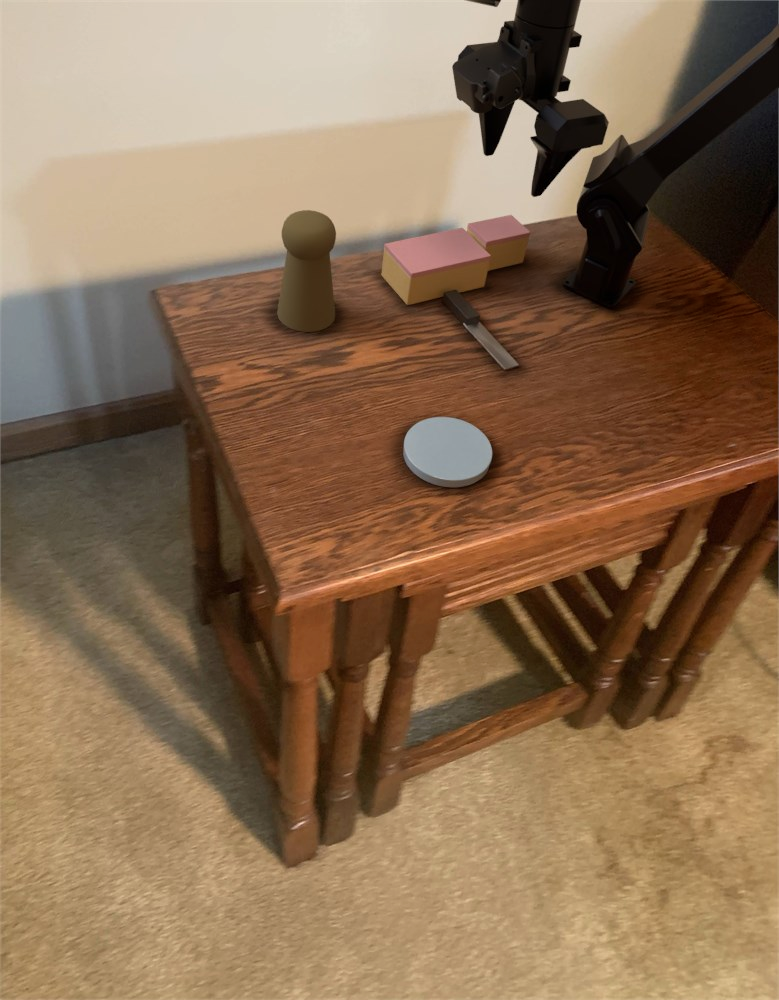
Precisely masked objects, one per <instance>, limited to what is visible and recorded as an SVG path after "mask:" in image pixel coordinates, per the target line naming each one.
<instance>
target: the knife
mask: <svg viewBox="0 0 779 1000" xmlns="http://www.w3.org/2000/svg"><path fill="white" fill-rule="evenodd" d="M442 303H443V304H444V306H446V308H447V309H448V310H449V311H450V312H451V313H452V314H453V315H454V316H455V318H457V320H458V321H459V322H460V323H461V324H462V326H463V327H464V328H465V330H466V331H467V332H468V333H469V334H470V335H471V336H472V337H473V339H475V341H476V342H477V343H478V344H479V345H480V346H481V347H482V349H483V350H485V352H486V353H487V354H488V355H489V356H490V357H491V359H492V360H494V362H495V363H496V364H497V365H498V366H499V367H500V369H502V371H503V372H506V371H509V370H513V369H516V368H519V366H520V364H519V363H518V361H516V359H515V358H513V356H511V354H510V353H509V352H508V351H507V350H506V349H505V347H504V346H503V345H502V344H501V343H500V342H499V341H498V340H497V339H496V338H495V336H493V335H492V333H490V332H489V330H488V329H487V328H486V327H485V326H484V325H483V324H482V323H481V322H480V319H481V314H479V312H478V311H477V310H476V309H475V308H474V307H473V306H472V305H471V304H470V303H469V302H468V301H467V299H466V298H465V297H464V296H463V295H462V294H461V292H460V293H459V292H458V291H457V290H451V291H447V292H444V294H443V297H442Z"/></svg>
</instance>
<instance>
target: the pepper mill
mask: <svg viewBox="0 0 779 1000" xmlns="http://www.w3.org/2000/svg"><path fill="white" fill-rule="evenodd" d="M336 240H337V231H336V227H335V224H334V222H333V220H332V219H331V218H330V217H329V216H328V215H326V214H324V213H323V212H320V211H316V210H311V209H305V210H304V209H303V210H298V211H295V212H293V213H290V214H289V215H288V216H287V217H286V219H285V220H284V221H283V225H282V227H281V241H282V244H283V246H284V248H285V250H286V256H285V260H284V268H283V274H282V279H281V285H280V294H279V297H278V298H279V299H278V305H277V311H276V314H277V318H278V321H280V323H281V324H282V325H283V326H285V327H287V328H288V329H291V330H294V331H296V332H304V333H313V332H319V331H322V330H323V331H324V330H326V329H327V328H328V327H330V326H331V325H332V324H333V323H334V322H335V319H336V308H335V296H334V287H333V286H334V285H333V276H332V265H331V263H332V262H331V255H330V253H331V251H332V250H333V249H334V248H335V244H336Z"/></svg>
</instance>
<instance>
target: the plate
mask: <svg viewBox="0 0 779 1000" xmlns="http://www.w3.org/2000/svg"><path fill="white" fill-rule="evenodd" d="M402 457H403V459H404V462H405V464H406V466H407V467H408V469H409V470H410V471H411V472H412V473H413V474H414V475H416V476H417V477H418V478H419V479H421V480H423V481H424V482H427V483H429V484H432V485H435V486H438V487H443V488H463V487H467V486H471V485H473V484H475V483H477V482H478V481H480V480H481V479H483V478H484V477H485V476H486V475H487V473H488V471H489V470H490V467H491V464H492V459H493V447H492V445H491V442H490V440H489V438H488V437H487V436H486V434H485V433H484V432H483V431H482V430H481V429H479V428H478V427H477V426H475V425H473V424H472V423H469V422H467V421H465V420H462V419H460V418H456V417H449V416H433V417H428V418H426V419H422V420H420V421H418V422H417V423H415V424H414V425H412V426H411V427H410V428H409V430H408V431H407V433H406V435H405V436H404V441H403V446H402Z"/></svg>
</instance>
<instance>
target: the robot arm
mask: <svg viewBox="0 0 779 1000" xmlns="http://www.w3.org/2000/svg"><path fill="white" fill-rule="evenodd" d="M465 1H466V2H470V3H476V4H480V5H484V6H489V7H493V8H498V6H499V5H500V3H501V2H502V0H465ZM581 1H582V0H517V2H516V8H515V13H514V18H513V20H505V21H503V26H501V27H500V30H499V35H498V38H497V41H492V42H491V41H490V42H483V43H482V42H481V43H476V44H475V43H473V44H467V45H465V47H464V48H463V49H462V50H461V51H460V53H459V54H458V56H457V60H456V61H455V62H454V63H453V64H452V66H451V68H452V75H453V82H454V88H455V94H456V98H457V100H458V101H460V102H461V101H462V102H463V103H464V104H465V105H467V106H468V107H469V109H470V110H471V111H472V112H473V113H476V114H478V118H479V119H478V120H479V125H480V126H479V127H480V128H479V129H480V135H481V136H480V137H481V143H482V152H483V155H484V156H485V157H488V156H489V157H490V156H493V155H494V154H495V152H496V150H497V148H498V146H499V144H500V141H501V139H502V137H503V134H504V131H505V129H506V126H507V123H508V121H509V118H510V116H511V113H512V111H513V108H514V105H515V104H516V101H518V100H519V101H522V102H523V103H525V104H526V105H527V106H529V108H531V109H532V110H533V111H535V112H536V113H537V114H536V116H535V120H534V126H533V129H534V131H535V135H532V136H530V138H529V139H530V141H531V142H532V144H533V145H534V147H535V149H536V150H537V153H536V158H535V164H534V170H533V175H532V180H531V192H530V195H531V196H532V197H533V198H537V197H540V196H542V195H543V194H544V192H545V191H546V190H547V189H548V187H549V186H550V185H551V184H552V182H554V180H555V179H556V178H557V176H559V174H560V173H561V172H562V170H563V169H565V167H566V166H567V165H568V164H569V162H570V161H571V160H572V159H574V157H576V155H577V154H578V153H579V152H581V150H583V149H589V148H592V147H596V146H603V144H604V140H605V137H606V134H607V131H608V127H609V123H610V122H609V120H608V118H607V116H606V114H605V113H604V112H603V111H601V110H600V109H598V108H596V107H595V106H593V105H592V104H591V103H590V102H588V101H587V100H585V99H584V98H580V99H579V98H578V99H573V100H567V101H561V100H560V99H558V98H556V97H557V96H558V93H562V92H563V93H564V92H569V89H570V85H571V81H572V80H571V79H569V78H568V77H567V76H565V74H564V73H565V68H566V65H567V60H568V57H569V56H568V55H569V52H570V49H574V48H579V47H580V45H581V42H582V39H583V35H582V34H581V33H579V32H577V31H576V30H575V27H576V22H577V19H578V14H579V10H580V7H581V6H580V5H581ZM777 90H779V23H777V24H776V25H775V27H774V28H773V30H772V31H771V32H770V33H768V34H767V35H766V36H765V37H763V38H762V39H761V41H759V42H757V44H755V46H753V47H752V48H751V49H750V50H748V51H747V52H746V53H745V54H743V55H742V56H741V57H740V58H739V59H738V60H736V61H735V62H734V63H733V64H732V65H731V66H729V67H728V68H727V69H726V70H725V71H724V72H722V73H721V74H720V75H719V76H718V77H717V78H715V79H714V80H712V82H711V83H709V84H708V85H707V86H706V87H705V88H704V89H702V90H701V91H700V92H699V93H697V95H696V96H694V97H693V98H692V99H690V101H688V102H687V103H685V105H683V107H681V108H680V109H679V110H678V111H676V112H675V113H674V114H673V115H671V116H670V117H669V119H667V120H666V121H665V122H664V123H662V124H661V125H660V126H658V128H657V129H656V130H654V131H653V132H652V133H651V134H649V135H648V136H647V137H645V138H643V139H641V140H638V141H635V142H632V143H629V142H628V140H627V139H626V138H625V136H624V135H623V134H619V136H618V137H617V138H616V139H615V140H614V142H613V143H612V144H611V145H610V146H609V147H608V148H607V150H605V151H604V152H602V153H601V154H598V155H596V156H593V157H592V159H591V162H590V165H589V168H588V171H587V174H586V177H585V180H584V183H583V186H582V188H581V191H580V194H579V197H578V199H577V204H576V216H577V220H578V222H579V224H580V225H581V226H582V228H583V229H585V230H586V240H585V242H584V246H583V249H582V252H581V256H580V258H579V259H580V260H579V263H578V264H577V265H578V266H577V268H576V269H575V270H574V271H572V272H571V273H570V275H568V276H567V277H566V278H565V279H564V280H562V284H561V285H562V287H563V288H565V289H567V290H569V291H571V292H573V293H576V294H578V295H580V296H582V297H584V298H586V299H588V300H590V301H593V302H595V303H597V304H599V305H601V306H603V307H606V308H608V309H614V308H615V307H616V306H617V305H618V304H619V303H620V302H621V301H622V300H623V299H624V298H625V297H626V296H627V295H628V294H629V293H630V291H631V290H632V289H634V287H635V285H636V281H635V280H633V279H632V278H630V277H629V276H630V274H631V271H632V268H633V266H634V263H635V260H636V258H637V256H638V255H639V254H640V253H641V251H642V249H643V246H644V240H645V236H646V232H647V228H648V222H649V219H650V214H651V209H650V207H649V205H648V203H649V202H650V201H651V199H652V197H653V196H654V195H655V194H656V192H657V191H658V189H659V188H660V187H661V185H662V184H663V182H664V181H665V180H666V179H667V178H668V177H669V176H670V175H671V174H673V173H674V172H675V171H676V170H678V169H679V168H680V167H681V166H683V165H684V164H685V163H686V162H688V161H689V160H691V159H692V158H693V157H694V156H696V155H697V154H698V153H699V152H700V151H702V150H703V149H704V148H705V147H707V146H708V145H709V144H711V143H712V142H713V141H714V140H716V139H717V138H718V137H720V136H721V135H722V134H723V133H724V132H726V131H727V130H728V129H730V128H731V127H732V126H734V125H735V124H737V122H738V121H740V119H742V118H743V117H745V116H746V115H747V114H748V113H750V112H751V111H753V109H755V108H756V107H757V106H758V105H760V104H761V103H762V102H763V101H765V100H766V99H767V98H769V97H770V96H771V95H772V94H774V93H775V92H776V91H777Z"/></svg>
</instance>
